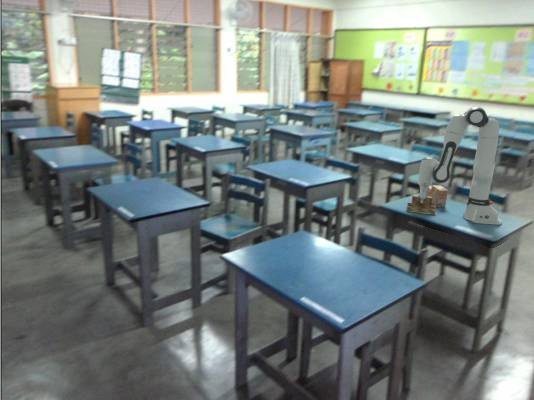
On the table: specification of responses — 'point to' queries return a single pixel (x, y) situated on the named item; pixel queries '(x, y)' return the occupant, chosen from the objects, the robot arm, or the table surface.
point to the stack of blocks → (437, 195)
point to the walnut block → (417, 199)
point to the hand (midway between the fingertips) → (421, 201)
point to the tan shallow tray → (421, 209)
